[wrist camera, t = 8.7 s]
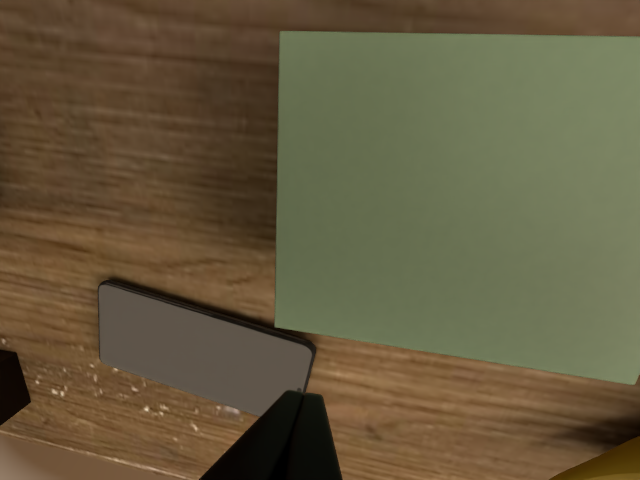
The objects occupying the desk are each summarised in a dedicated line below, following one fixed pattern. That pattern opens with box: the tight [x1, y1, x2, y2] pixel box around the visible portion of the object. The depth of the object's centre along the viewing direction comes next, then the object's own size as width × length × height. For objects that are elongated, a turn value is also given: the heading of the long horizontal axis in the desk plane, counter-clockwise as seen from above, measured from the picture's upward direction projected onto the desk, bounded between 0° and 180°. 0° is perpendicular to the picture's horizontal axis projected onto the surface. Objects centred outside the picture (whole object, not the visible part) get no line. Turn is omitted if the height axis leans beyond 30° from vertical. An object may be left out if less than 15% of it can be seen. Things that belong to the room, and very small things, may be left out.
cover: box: [274, 31, 640, 385], centre depth 11 cm, size 13×11×1 cm
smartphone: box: [98, 280, 316, 417], centre depth 22 cm, size 7×1×15 cm
